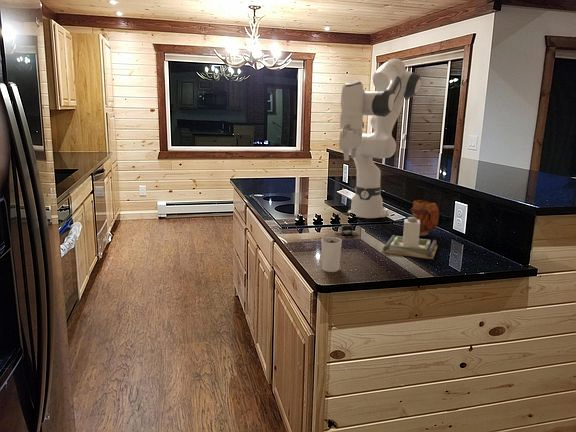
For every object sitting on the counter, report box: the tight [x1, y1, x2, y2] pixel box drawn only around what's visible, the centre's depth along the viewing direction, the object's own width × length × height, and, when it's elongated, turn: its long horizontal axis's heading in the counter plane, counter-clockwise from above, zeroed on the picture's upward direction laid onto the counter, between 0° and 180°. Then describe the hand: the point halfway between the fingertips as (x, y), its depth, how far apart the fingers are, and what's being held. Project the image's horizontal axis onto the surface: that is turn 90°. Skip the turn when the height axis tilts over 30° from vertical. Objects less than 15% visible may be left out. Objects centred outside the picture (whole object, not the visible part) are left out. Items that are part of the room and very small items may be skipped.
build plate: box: [334, 224, 360, 238], centre depth 193 cm, size 12×7×5 cm, turn 96°
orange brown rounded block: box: [409, 199, 440, 237], centre depth 189 cm, size 15×8×15 cm, turn 22°
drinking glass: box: [321, 236, 343, 273], centre depth 153 cm, size 7×7×10 cm
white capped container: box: [402, 216, 420, 248], centre depth 172 cm, size 6×6×11 cm
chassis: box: [381, 234, 438, 260], centre depth 174 cm, size 17×18×3 cm
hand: (349, 159), depth 188 cm, fingers open, 8 cm apart
